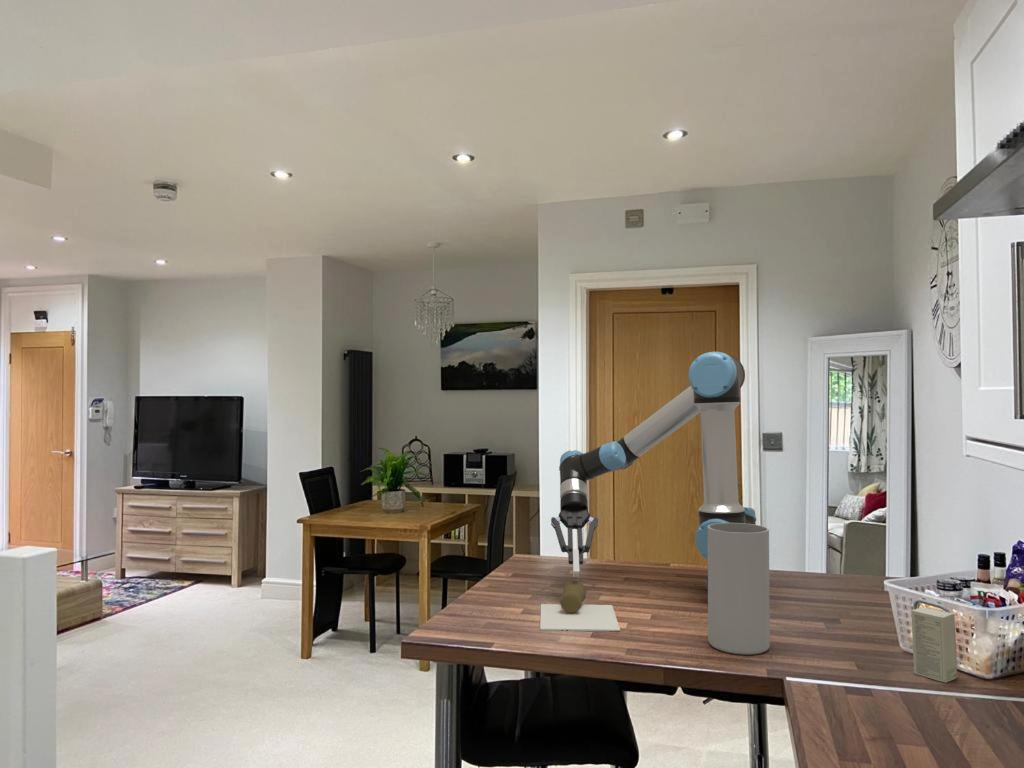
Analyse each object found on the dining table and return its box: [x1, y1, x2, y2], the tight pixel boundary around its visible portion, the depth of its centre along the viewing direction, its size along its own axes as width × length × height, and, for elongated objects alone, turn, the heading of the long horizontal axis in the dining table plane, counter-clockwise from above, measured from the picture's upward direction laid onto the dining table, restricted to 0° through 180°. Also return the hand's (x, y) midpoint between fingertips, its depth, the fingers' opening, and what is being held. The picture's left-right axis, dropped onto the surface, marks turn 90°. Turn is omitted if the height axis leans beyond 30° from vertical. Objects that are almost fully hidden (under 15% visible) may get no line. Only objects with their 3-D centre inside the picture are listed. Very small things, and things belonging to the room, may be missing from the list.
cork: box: [559, 580, 587, 613], centre depth 182 cm, size 6×6×11 cm
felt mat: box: [539, 603, 621, 632], centre depth 175 cm, size 20×18×1 cm
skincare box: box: [910, 606, 958, 683], centre depth 138 cm, size 6×4×12 cm
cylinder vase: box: [707, 523, 771, 656], centre depth 156 cm, size 12×12×25 cm
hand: (576, 574), depth 185 cm, fingers closed
